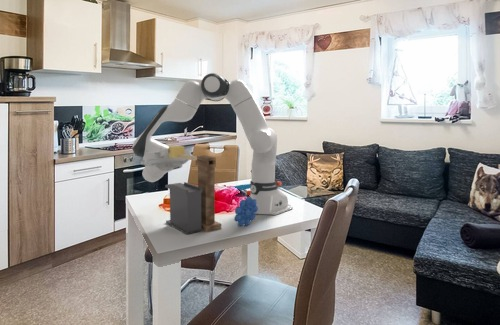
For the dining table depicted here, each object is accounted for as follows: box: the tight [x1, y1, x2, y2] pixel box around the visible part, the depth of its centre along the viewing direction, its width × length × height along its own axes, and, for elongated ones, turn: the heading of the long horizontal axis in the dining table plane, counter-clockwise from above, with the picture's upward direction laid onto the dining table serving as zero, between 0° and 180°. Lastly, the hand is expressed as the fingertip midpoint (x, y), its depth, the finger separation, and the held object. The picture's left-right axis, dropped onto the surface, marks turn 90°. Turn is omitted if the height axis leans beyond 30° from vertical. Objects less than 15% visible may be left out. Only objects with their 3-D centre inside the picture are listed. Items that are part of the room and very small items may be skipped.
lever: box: [232, 183, 251, 196], centre depth 207 cm, size 7×7×18 cm
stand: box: [194, 155, 222, 233], centre depth 147 cm, size 7×12×29 cm, turn 39°
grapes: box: [234, 196, 258, 227], centre depth 151 cm, size 12×7×12 cm, turn 128°
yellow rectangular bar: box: [169, 145, 198, 161], centre depth 142 cm, size 4×17×4 cm, turn 39°
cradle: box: [164, 182, 204, 235], centre depth 147 cm, size 7×18×17 cm, turn 39°
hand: (174, 149), depth 148 cm, fingers closed on yellow rectangular bar, 4 cm apart
